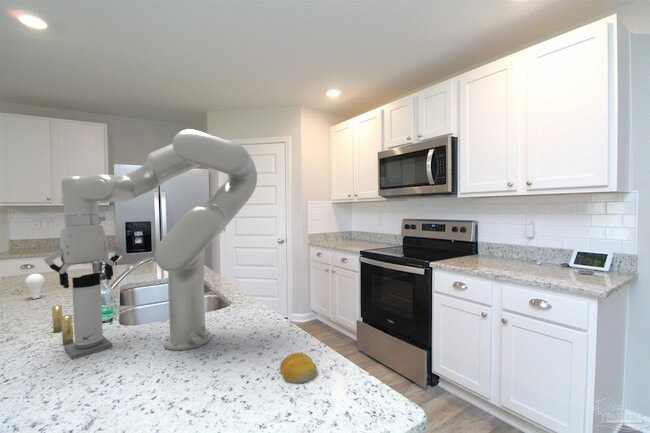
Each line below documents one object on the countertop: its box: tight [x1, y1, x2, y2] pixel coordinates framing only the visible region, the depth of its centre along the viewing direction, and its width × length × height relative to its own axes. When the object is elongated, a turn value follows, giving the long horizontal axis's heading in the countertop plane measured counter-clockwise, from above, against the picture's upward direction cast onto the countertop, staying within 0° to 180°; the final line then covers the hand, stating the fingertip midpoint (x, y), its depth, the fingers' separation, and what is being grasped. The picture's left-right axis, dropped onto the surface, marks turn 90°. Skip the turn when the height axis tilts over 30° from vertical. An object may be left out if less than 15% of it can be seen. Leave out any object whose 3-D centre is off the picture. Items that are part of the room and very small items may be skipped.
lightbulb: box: [24, 273, 45, 300], centre depth 136 cm, size 6×6×11 cm
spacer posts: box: [51, 304, 74, 346], centre depth 98 cm, size 16×8×8 cm, turn 49°
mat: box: [63, 334, 113, 360], centre depth 88 cm, size 9×9×1 cm
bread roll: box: [279, 352, 317, 384], centre depth 73 cm, size 8×9×4 cm
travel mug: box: [72, 272, 104, 349], centre depth 88 cm, size 6×7×20 cm
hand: (88, 283), depth 87 cm, fingers open, 9 cm apart
